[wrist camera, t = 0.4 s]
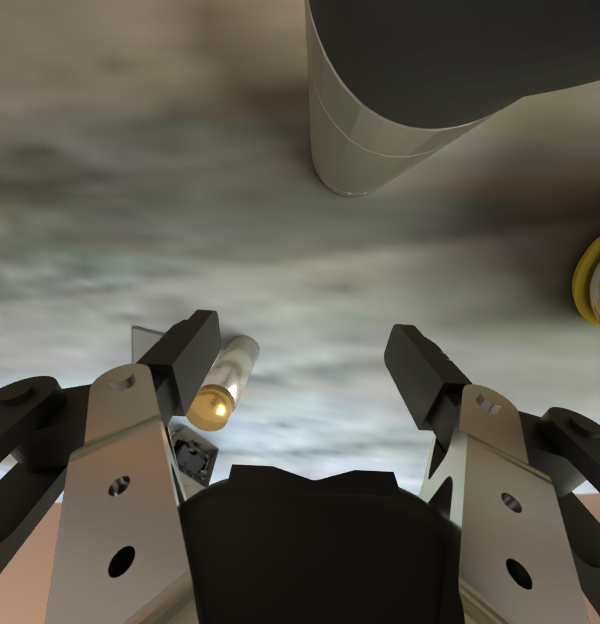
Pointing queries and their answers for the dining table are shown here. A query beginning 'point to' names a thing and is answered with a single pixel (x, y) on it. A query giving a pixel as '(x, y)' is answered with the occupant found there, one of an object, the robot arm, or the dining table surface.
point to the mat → (143, 341)
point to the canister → (224, 385)
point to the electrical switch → (193, 460)
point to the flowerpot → (588, 284)
